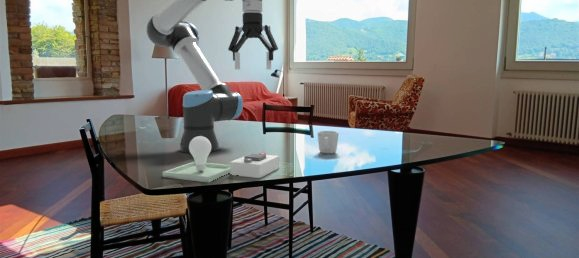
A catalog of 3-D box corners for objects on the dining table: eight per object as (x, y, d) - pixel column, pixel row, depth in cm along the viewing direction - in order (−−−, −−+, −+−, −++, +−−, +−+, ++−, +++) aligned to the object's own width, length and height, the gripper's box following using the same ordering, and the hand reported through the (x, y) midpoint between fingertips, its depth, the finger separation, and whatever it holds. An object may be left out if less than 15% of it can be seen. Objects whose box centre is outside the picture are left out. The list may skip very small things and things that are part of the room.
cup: (336, 156, 155) (336, 135, 154) (315, 155, 157) (315, 134, 155) (339, 151, 165) (339, 131, 164) (318, 150, 167) (319, 130, 166)
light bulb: (191, 169, 131) (189, 134, 130) (212, 168, 132) (211, 134, 131) (188, 174, 125) (187, 138, 123) (211, 174, 126) (210, 137, 124)
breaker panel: (230, 174, 127) (229, 159, 126) (251, 165, 140) (251, 151, 139) (259, 178, 123) (259, 162, 123) (279, 168, 136) (279, 153, 135)
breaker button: (244, 169, 130) (244, 156, 130) (252, 165, 135) (251, 153, 134) (259, 170, 128) (259, 157, 128) (266, 167, 133) (266, 154, 132)
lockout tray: (162, 177, 124) (162, 172, 124) (194, 165, 139) (194, 161, 139) (208, 182, 118) (208, 177, 118) (237, 170, 133) (236, 165, 133)
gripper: (218, 13, 161) (219, 69, 164) (278, 9, 152) (278, 69, 155) (228, 15, 168) (229, 69, 171) (286, 12, 159) (286, 69, 162)
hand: (252, 69), depth 163 cm, fingers open, 13 cm apart
